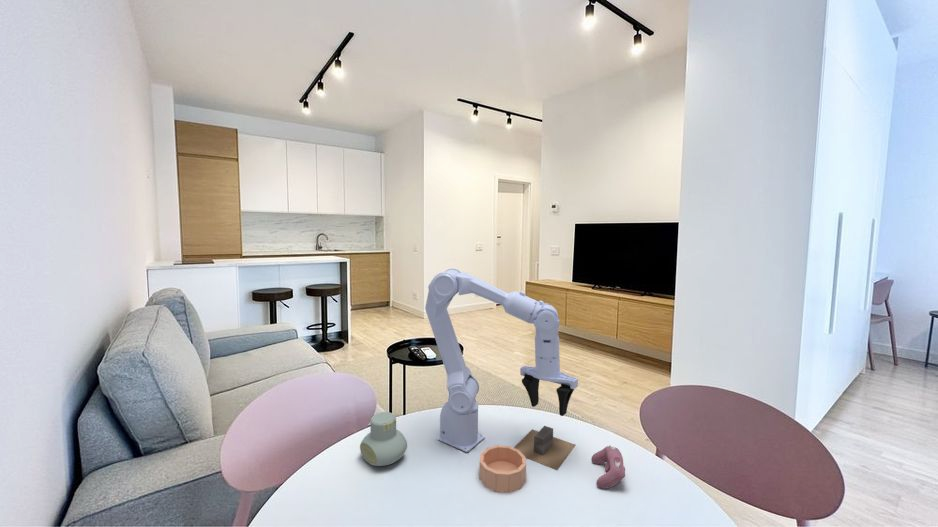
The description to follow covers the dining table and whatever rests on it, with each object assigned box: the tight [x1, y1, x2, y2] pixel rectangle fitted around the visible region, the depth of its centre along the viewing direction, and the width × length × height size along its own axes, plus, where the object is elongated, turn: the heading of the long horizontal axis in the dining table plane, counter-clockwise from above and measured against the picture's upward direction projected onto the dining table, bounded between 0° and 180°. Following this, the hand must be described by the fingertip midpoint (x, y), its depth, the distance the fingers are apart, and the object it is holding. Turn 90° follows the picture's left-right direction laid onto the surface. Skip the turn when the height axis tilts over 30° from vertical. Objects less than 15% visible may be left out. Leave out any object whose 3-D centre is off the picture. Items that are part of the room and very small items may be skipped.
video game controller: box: [590, 444, 626, 489], centre depth 81 cm, size 10×5×7 cm, turn 169°
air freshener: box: [359, 411, 408, 467], centre depth 86 cm, size 11×8×10 cm
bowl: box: [478, 444, 527, 494], centre depth 81 cm, size 10×10×4 cm
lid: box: [513, 425, 576, 471], centre depth 91 cm, size 12×12×5 cm
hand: (548, 409), depth 89 cm, fingers open, 7 cm apart
